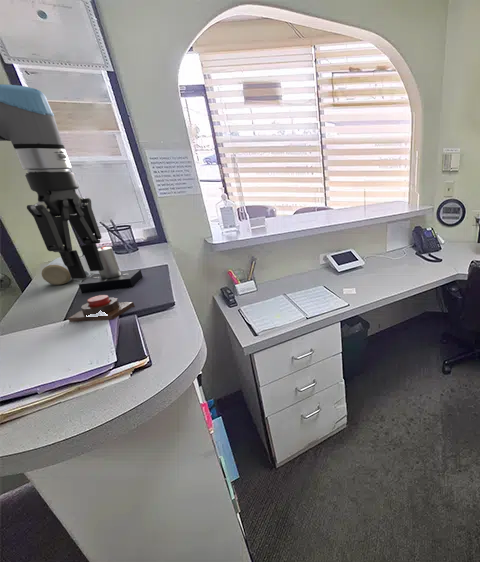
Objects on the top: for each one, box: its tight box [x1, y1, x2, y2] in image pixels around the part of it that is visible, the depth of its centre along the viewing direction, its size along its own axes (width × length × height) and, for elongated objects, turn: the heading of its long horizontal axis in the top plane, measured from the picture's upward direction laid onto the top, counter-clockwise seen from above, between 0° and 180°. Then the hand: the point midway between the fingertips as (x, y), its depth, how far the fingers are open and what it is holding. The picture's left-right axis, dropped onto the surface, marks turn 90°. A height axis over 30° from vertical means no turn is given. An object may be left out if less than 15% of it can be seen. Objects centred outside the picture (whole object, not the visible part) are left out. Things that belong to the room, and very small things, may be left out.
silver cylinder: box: [97, 245, 121, 279], centre depth 97 cm, size 5×5×9 cm
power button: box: [86, 294, 110, 307], centre depth 77 cm, size 4×4×2 cm
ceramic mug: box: [41, 256, 92, 286], centre depth 103 cm, size 11×8×8 cm
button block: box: [67, 296, 136, 323], centre depth 78 cm, size 10×8×4 cm
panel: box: [78, 268, 144, 294], centre depth 99 cm, size 13×10×3 cm
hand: (88, 273), depth 74 cm, fingers open, 5 cm apart
